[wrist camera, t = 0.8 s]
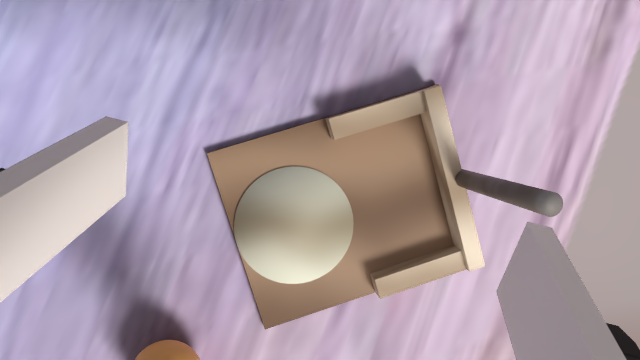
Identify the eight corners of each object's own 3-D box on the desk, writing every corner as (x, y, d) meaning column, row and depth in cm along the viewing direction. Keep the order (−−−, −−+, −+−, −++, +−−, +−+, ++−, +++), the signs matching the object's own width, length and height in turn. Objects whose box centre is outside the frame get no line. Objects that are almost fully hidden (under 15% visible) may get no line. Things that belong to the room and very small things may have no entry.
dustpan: (207, 153, 28) (180, 174, 18) (435, 84, 29) (534, 67, 19) (265, 326, 30) (271, 436, 19) (477, 254, 31) (588, 322, 21)
